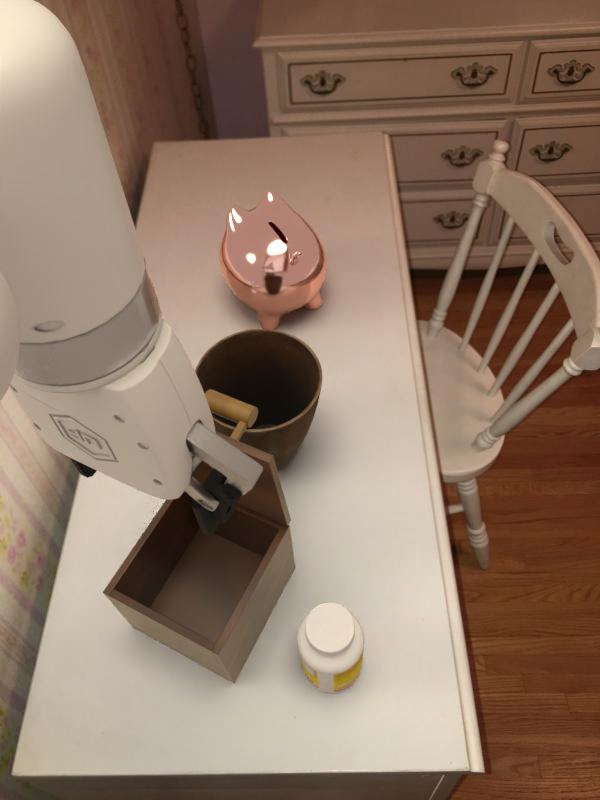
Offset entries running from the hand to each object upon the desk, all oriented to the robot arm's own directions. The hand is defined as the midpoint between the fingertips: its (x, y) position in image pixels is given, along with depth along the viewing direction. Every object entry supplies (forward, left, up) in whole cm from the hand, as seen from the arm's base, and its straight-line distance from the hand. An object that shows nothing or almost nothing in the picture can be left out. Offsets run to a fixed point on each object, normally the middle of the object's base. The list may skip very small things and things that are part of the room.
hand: (157, 486), depth 43 cm
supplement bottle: (+3, -11, -36) cm, 38 cm away
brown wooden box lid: (+10, +4, -16) cm, 19 cm away
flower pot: (+24, +8, -36) cm, 44 cm away
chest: (+4, +4, -36) cm, 37 cm away
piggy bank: (+50, +21, -36) cm, 65 cm away
